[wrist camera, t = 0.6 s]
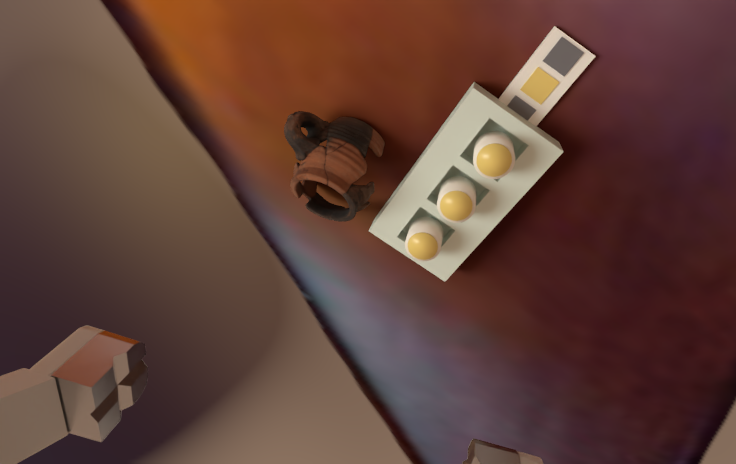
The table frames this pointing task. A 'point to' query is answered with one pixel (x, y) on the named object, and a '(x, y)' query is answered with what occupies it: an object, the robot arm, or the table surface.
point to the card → (546, 76)
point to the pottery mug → (332, 161)
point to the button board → (455, 158)
